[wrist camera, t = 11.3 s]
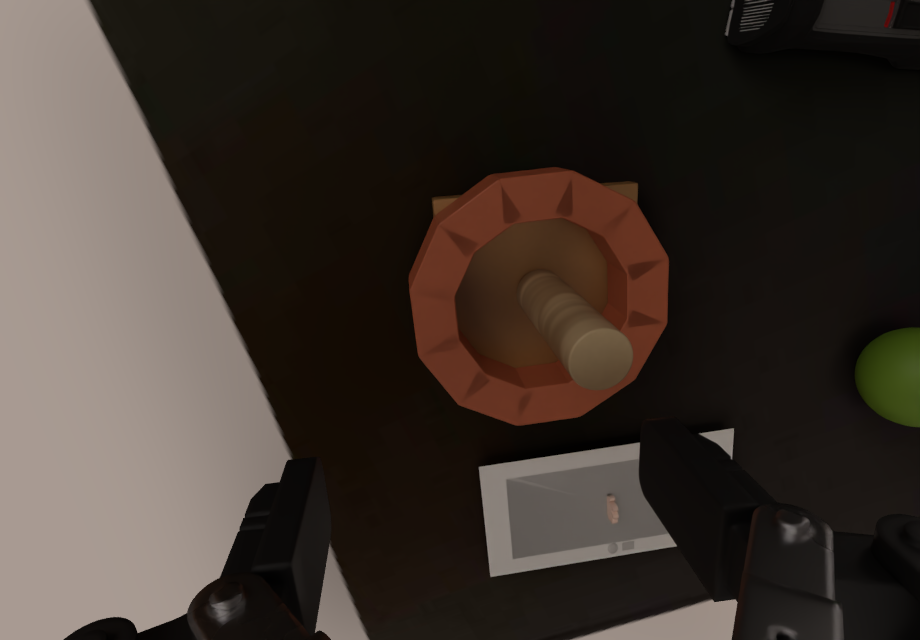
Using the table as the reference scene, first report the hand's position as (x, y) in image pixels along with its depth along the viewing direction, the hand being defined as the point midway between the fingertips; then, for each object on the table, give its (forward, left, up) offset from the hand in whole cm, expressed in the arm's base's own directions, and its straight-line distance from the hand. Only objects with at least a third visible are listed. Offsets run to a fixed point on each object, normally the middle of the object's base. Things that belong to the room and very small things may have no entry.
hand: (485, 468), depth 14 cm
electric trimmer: (-11, +22, -16) cm, 30 cm away
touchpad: (+14, +9, -16) cm, 23 cm away
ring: (0, +5, -15) cm, 15 cm away
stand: (0, +5, -16) cm, 17 cm away
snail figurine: (+7, +26, -16) cm, 31 cm away
